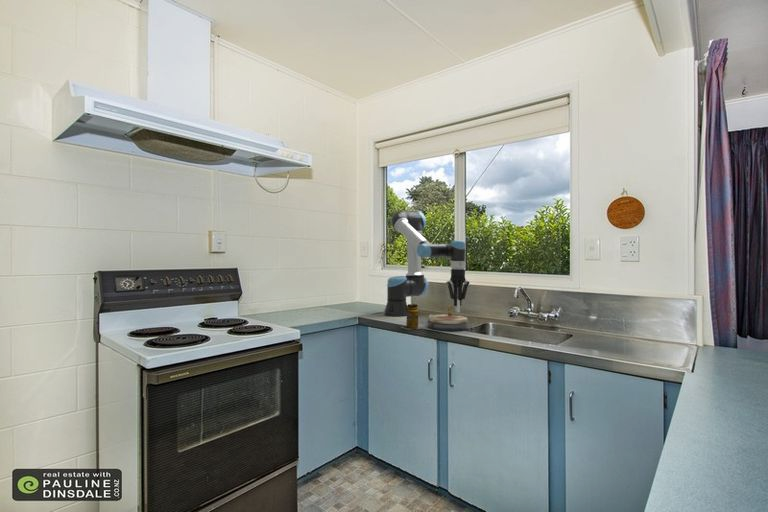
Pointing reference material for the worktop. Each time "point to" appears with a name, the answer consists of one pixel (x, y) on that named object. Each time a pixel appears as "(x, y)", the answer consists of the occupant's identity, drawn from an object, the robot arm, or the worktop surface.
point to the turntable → (448, 318)
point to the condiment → (412, 317)
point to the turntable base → (447, 326)
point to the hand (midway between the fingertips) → (457, 311)
